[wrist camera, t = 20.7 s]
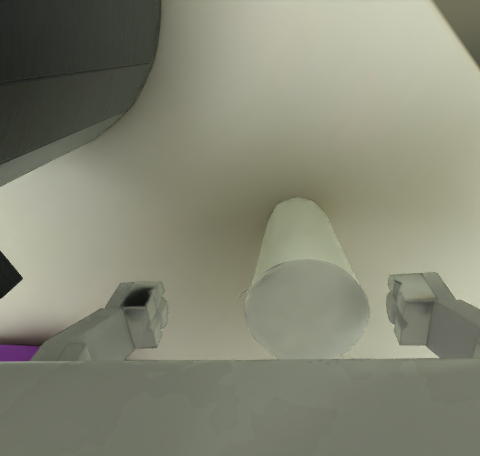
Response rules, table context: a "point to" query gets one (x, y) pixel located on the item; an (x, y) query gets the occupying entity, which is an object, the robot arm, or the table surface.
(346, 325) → the milkshake
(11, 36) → the pot
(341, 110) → the table surface
